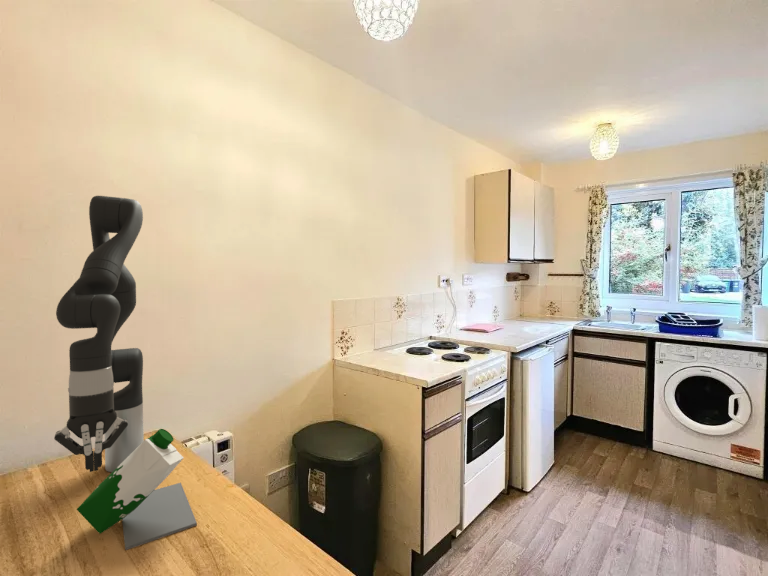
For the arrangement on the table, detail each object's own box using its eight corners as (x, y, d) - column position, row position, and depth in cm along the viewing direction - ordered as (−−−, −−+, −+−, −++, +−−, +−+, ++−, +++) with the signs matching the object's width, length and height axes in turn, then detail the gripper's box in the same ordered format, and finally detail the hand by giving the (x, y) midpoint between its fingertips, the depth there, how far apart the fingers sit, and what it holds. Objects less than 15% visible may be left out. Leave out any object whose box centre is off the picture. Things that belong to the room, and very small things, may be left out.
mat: (120, 502, 93) (120, 499, 93) (180, 484, 101) (180, 482, 101) (125, 550, 77) (125, 547, 77) (196, 525, 85) (196, 522, 85)
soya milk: (96, 495, 87) (167, 425, 92) (124, 524, 87) (194, 452, 91) (69, 507, 79) (149, 430, 83) (100, 540, 78) (179, 460, 83)
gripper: (128, 380, 89) (129, 454, 90) (52, 390, 81) (54, 471, 82) (130, 387, 83) (132, 467, 83) (48, 399, 75) (51, 487, 76)
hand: (93, 469), depth 83 cm, fingers closed
